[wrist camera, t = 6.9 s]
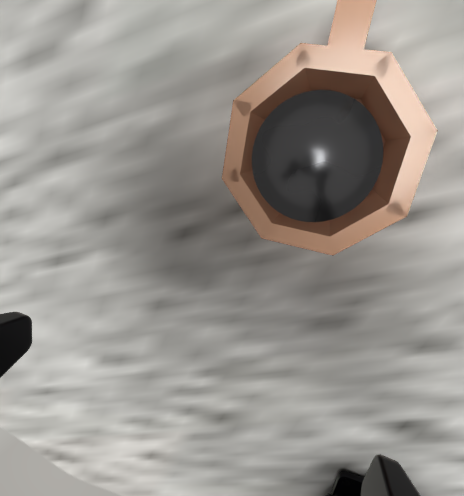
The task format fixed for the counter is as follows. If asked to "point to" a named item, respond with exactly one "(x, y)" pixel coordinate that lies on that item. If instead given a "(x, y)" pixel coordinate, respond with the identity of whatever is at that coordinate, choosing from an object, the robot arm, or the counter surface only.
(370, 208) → the octagonal copper jug
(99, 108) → the counter surface
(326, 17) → the counter surface
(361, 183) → the plunger
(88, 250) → the counter surface
